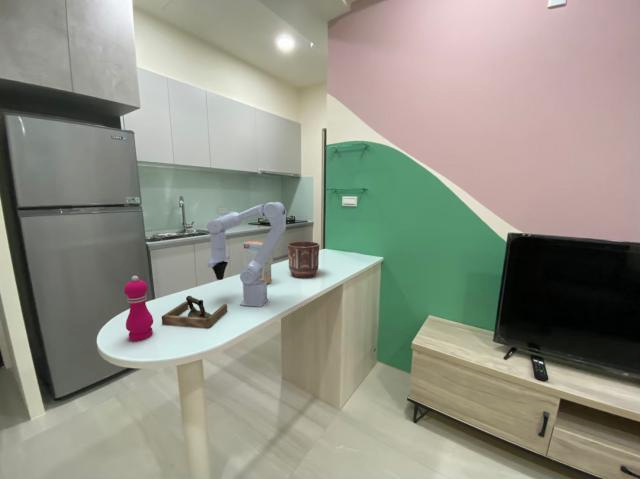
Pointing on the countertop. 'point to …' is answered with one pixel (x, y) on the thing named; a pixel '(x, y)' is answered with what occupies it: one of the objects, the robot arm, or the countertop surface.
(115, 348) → the countertop surface
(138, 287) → the pepper mill
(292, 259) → the pottery
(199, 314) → the clothes iron
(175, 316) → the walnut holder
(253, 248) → the cracker box
